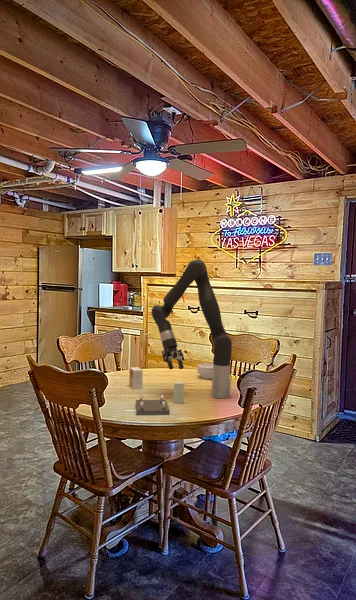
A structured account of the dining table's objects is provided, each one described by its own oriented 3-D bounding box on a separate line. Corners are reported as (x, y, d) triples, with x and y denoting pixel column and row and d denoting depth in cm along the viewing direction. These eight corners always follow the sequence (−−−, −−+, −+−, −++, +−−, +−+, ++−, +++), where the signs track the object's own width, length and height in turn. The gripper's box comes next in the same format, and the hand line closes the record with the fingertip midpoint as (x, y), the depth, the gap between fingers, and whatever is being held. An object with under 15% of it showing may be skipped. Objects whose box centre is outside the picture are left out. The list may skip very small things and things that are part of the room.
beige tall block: (182, 400, 215) (182, 381, 214) (183, 403, 210) (183, 383, 209) (173, 400, 214) (173, 381, 214) (174, 403, 209) (175, 383, 209)
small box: (129, 385, 242) (129, 367, 241) (138, 384, 244) (138, 366, 243) (132, 389, 234) (133, 370, 234) (142, 388, 236) (142, 369, 236)
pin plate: (166, 403, 209) (166, 393, 208) (169, 414, 192) (169, 404, 192) (135, 403, 207) (136, 393, 207) (136, 415, 190) (136, 404, 190)
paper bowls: (209, 373, 277) (210, 362, 277) (226, 378, 266) (226, 366, 265) (192, 376, 268) (192, 364, 267) (208, 381, 256) (208, 368, 256)
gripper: (164, 336, 216) (173, 366, 211) (181, 337, 227) (190, 366, 222) (154, 342, 220) (162, 371, 215) (171, 342, 231) (180, 371, 226)
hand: (176, 368), depth 218 cm, fingers open, 8 cm apart
